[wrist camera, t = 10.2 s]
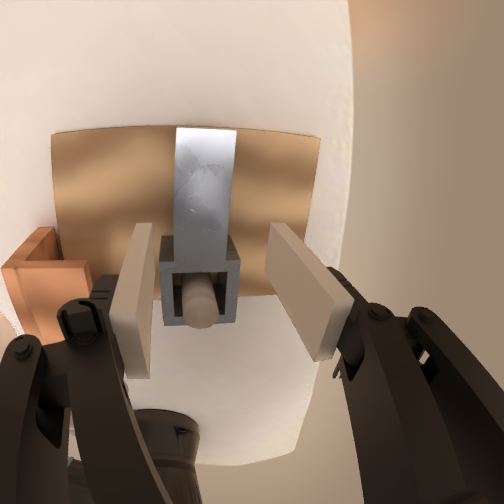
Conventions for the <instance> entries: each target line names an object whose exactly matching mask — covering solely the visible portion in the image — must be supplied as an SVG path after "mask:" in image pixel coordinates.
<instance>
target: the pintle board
mask: <svg viewBox="0 0 504 504" xmlns="http://www.w3.org/2000/svg"><path fill="white" fill-rule="evenodd" d="M177 127H178V126H134V127H116V128H102V129H91V130H82V131H73V132H65V133H58V134H53V135H51V160H52V178H53V190H54V200H55V209H56V216H57V223H58V230H59V236H60V242H61V247H62V252H63V257H64V260H60V258H59V253H58V248H57V242H56V237H55V231H54V227H40V228H37V229H36V230H35V231H34V232H33V233H32V234H31V235H30V236H29V237H28V238H27V239H26V241H25V242H24V243H23V244H22V245H21V246H20V247H19V248H18V249H17V250H16V251H15V252H14V253H13V255H12V256H11V257H10V258H9V259H8V260H7V261H6V263H5V264H4V265H3V266H2V267H1V268H0V269H1V272H2V275H3V278H4V281H5V284H6V287H7V290H8V293H9V296H10V298H11V301H12V304H13V306H14V309H15V311H16V314H17V316H18V319H19V321H20V323H21V326H22V328H23V330H24V332H25V334H30V335H35V336H36V337H37V338H38V339H39V340H40V342H41V344H42V345H47V344H52V343H56V342H60V341H63V340H65V338H64V336H63V333H62V331H61V328H60V326H59V323H58V320H57V317H56V316H57V312H58V310H59V309H60V308H61V307H62V305H64V304H65V303H67V302H69V301H70V300H74V299H77V298H89V295H90V293H91V290H92V288H93V285H94V282H95V281H96V280H97V279H98V278H99V277H101V276H102V275H116V274H120V272H121V268H122V265H123V262H124V259H125V255H126V252H127V249H128V246H129V243H130V240H131V237H132V234H133V231H134V229H135V226H136V223H152V230H153V251H154V266H155V280H154V291H153V300H161V289H160V276H159V253H160V243H161V235H174V170H175V148H176V132H177ZM193 127H208V126H193ZM218 128H227V127H218ZM228 129H232V130H236V131H237V134H236V145H235V155H234V166H233V177H232V188H231V200H230V212H229V225H228V235H230V236H231V238H232V241H233V243H234V245H235V248H236V250H237V252H238V255H239V257H240V259H241V265H240V275H239V286H238V297H241V296H258V295H273V294H277V293H276V291H275V290H274V288H273V286H272V284H271V282H270V280H269V279H268V277H267V275H266V273H265V271H264V268H265V261H266V253H267V246H268V239H269V232H270V224H271V222H274V223H286V224H287V225H288V226H289V227H290V228H291V230H292V231H293V232H294V233H295V234H296V235H297V236H298V237H299V238H300V239H301V240H302V241H303V242H304V237H305V232H306V226H307V221H308V215H309V210H310V204H311V198H312V192H313V186H314V180H315V174H316V168H317V161H318V154H319V148H320V141H321V139H320V138H315V137H309V136H303V135H296V134H288V133H280V132H272V131H263V130H252V129H241V128H228ZM173 282H174V285H181V291H182V306H183V318H184V321H185V322H186V323H187V324H188V325H189V326H191V327H193V328H198V329H202V328H207V327H210V326H212V325H213V324H214V323H215V322H216V321H217V320H218V317H219V311H218V306H217V302H216V298H215V294H214V289H213V285H212V284H217V272H197V273H173Z"/></svg>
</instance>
